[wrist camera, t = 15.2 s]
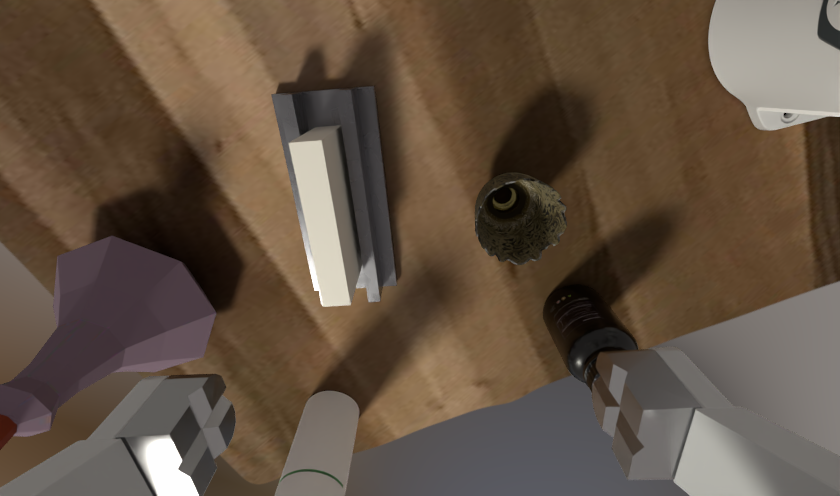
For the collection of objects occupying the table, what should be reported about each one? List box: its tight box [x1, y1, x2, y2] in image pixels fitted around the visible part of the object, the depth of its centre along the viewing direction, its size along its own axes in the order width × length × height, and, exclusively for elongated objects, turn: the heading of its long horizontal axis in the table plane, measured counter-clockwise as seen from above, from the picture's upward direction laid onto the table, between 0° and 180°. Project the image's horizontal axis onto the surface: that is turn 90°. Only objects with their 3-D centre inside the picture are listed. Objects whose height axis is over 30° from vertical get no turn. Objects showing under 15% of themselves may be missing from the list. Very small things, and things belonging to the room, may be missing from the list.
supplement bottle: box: [543, 285, 638, 392], centre depth 39 cm, size 7×7×12 cm
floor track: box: [271, 86, 397, 305], centre depth 37 cm, size 20×9×4 cm, turn 4°
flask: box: [0, 236, 216, 450], centre depth 35 cm, size 16×16×20 cm
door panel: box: [289, 125, 363, 307], centre depth 35 cm, size 14×2×8 cm, turn 4°
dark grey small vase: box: [475, 172, 567, 265], centre depth 35 cm, size 8×7×8 cm
